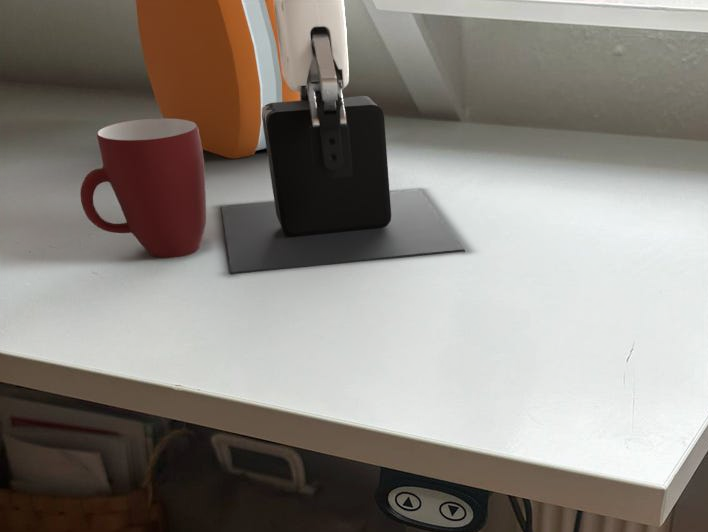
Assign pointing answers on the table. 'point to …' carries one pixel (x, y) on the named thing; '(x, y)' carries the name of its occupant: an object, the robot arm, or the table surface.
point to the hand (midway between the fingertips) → (328, 164)
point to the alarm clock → (215, 67)
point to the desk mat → (334, 237)
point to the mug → (153, 183)
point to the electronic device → (329, 194)
